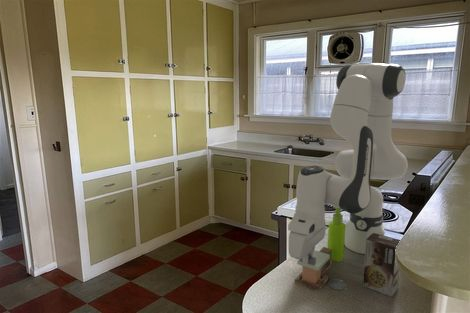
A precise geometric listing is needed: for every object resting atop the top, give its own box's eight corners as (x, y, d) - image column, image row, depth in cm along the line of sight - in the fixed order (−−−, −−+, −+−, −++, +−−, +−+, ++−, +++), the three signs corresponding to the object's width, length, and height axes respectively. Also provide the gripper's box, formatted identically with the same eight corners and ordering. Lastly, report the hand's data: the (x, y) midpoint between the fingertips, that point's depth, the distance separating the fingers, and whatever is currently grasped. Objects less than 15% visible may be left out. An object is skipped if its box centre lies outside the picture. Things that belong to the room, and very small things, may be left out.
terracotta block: (307, 275, 112) (308, 259, 111) (320, 280, 110) (321, 263, 108) (301, 281, 109) (302, 264, 107) (315, 286, 106) (316, 269, 105)
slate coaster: (331, 278, 110) (331, 277, 110) (348, 284, 107) (348, 282, 107) (325, 286, 106) (325, 284, 106) (343, 292, 103) (343, 290, 103)
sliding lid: (310, 252, 115) (310, 243, 114) (329, 258, 111) (330, 249, 110) (297, 264, 107) (297, 254, 106) (318, 270, 103) (318, 261, 102)
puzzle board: (316, 260, 123) (317, 245, 121) (337, 266, 118) (338, 251, 117) (294, 282, 108) (295, 265, 107) (318, 290, 104) (319, 273, 102)
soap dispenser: (347, 256, 125) (351, 205, 121) (338, 263, 120) (341, 210, 117) (333, 251, 129) (336, 201, 126) (323, 257, 125) (326, 206, 121)
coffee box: (398, 288, 105) (403, 240, 102) (391, 297, 100) (397, 247, 97) (369, 277, 111) (373, 231, 108) (361, 285, 106) (365, 238, 103)
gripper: (313, 207, 113) (311, 245, 116) (285, 226, 97) (283, 270, 99) (331, 211, 110) (329, 250, 112) (305, 232, 93) (303, 277, 96)
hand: (307, 260), depth 106 cm, fingers closed on sliding lid
